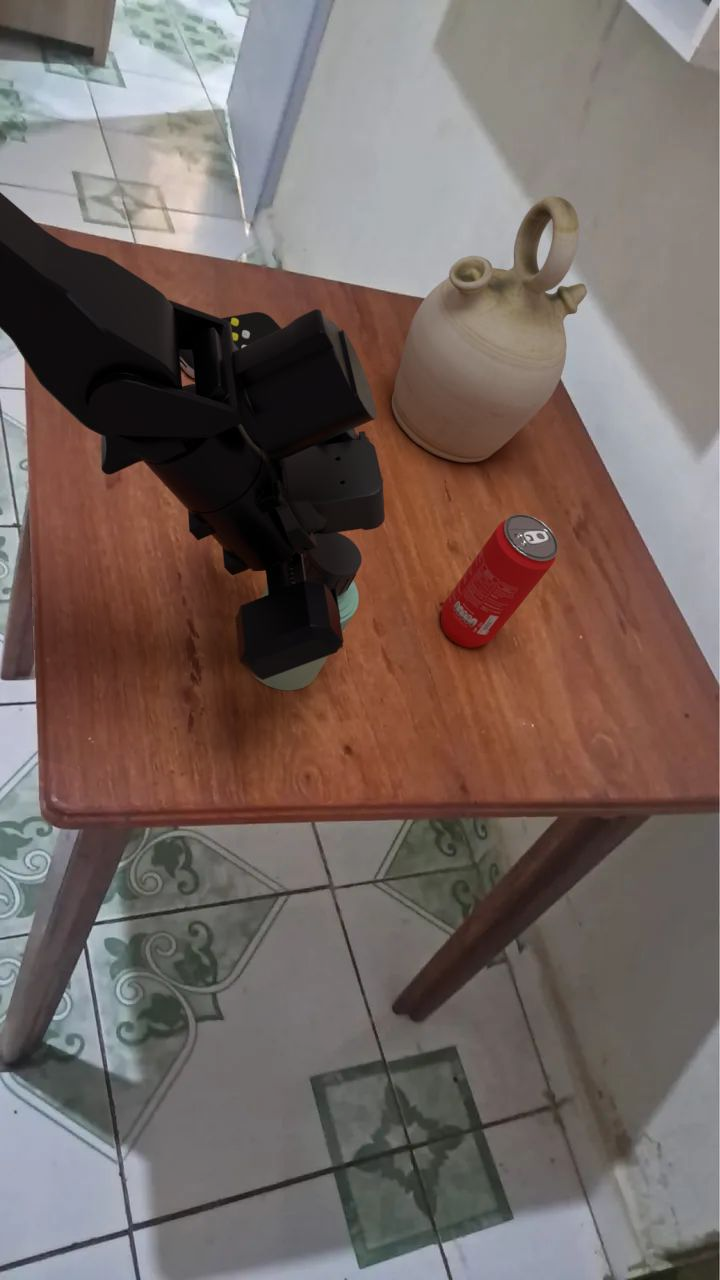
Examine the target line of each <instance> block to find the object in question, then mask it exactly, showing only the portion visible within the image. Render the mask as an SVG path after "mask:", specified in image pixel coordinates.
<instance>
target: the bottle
mask: <svg viewBox="0 0 720 1280" xmlns="http://www.w3.org/2000/svg"><path fill="white" fill-rule="evenodd" d="M291 582H292V581H291ZM266 595H268V587H267V586H266V587H265V589H264V591H263V593H262V595H261V597H264V596H266ZM359 598H360V597H359V590H358V588H357V585H356V582H355V581H354V580H353V581H352V583H351V585H350V587H349V588H348V590H347V591H345V592H344V593H343V594H342V595H340V596H337V600H338V606H339V612H340V624H341V630H342V634H343V633H344V631H345V630H346V628H347V626H348V625H349V623H350V622H351V619H353V616H354V615H355V613H356V611H357V609H358V606H359V602H360V599H359ZM328 658H329V656H326V657H323V658H321V659H318V660H315V661H313V662H310V663H307V664H304V665H302V666H299V667H296V668H294V669H291V670H288V671H286V672H283V673H280V674H278V675H275V676H272V677H269V678H267V679H264V680H261V679H259V678H258V677H256V676H254V675H253V674H252V673H250V674H251V676H253V678H255V679H256V680H257V681H259V682H260V683H262V684H263V685H265V686H266V687H267V686H268V687H270V688H272V689H276V690H279V691H297V690H300V689H303V688H305V687H307V686H309V685H310V684H311V683H313V682H314V681H315V679H316V678H317V677H318V675H319V673H320V672H321V669H322V668H323V666H324V665H325V663H326V662H327V660H328Z"/></svg>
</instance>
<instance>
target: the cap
mask: <svg viewBox="0 0 720 1280" xmlns="http://www.w3.org/2000/svg"><path fill="white" fill-rule="evenodd" d="M314 536H315V537H316V543H317V548H315V549H312V550H310V551H307V552H305V553H303V559H304V566H305V573H306V579H307V581H311V582H318V583H324V584H325V585H326V586H327V588H328V589H329V590H331V589H334V588H335V589H336V594H337V596H340V595H342V594H343V593H344V592H345V591H347V590H348V588H349V587H350V585H351V583H352V581H354V579H355V578H356V576H357V573H358V571H359V570H360V567H361V565H362V562H363V561H362V553H361V551H360V549H359V547H358V546H357V545H356V543H355V542H354V541H353V540H351V538H349V537H347V536H346V535H344V534H343V533H341V532H337V533H331V534H317V533H316V534H314Z"/></svg>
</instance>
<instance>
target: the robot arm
mask: <svg viewBox="0 0 720 1280" xmlns="http://www.w3.org/2000/svg"><path fill="white" fill-rule="evenodd" d="M221 318H222V317H217V316H215V315H212V314H211V313H207V312H204V311H201V310H199V309H195V308H192V307H190V306H187V305H185V304H181V303H178V302H176V301H173V300H170V299H168V298H167V297H166V296H165V294H164V293H162V292H161V291H160V290H159V289H157V288H156V287H155V286H153V285H152V284H150V283H148V282H147V281H146V280H144V279H142V278H141V277H139V276H138V275H136V274H135V273H133V272H132V271H130V270H129V269H127V268H125V267H124V266H122V265H121V264H120V263H117V262H116V261H115V260H114V259H112V258H110V257H108V256H106V255H104V254H100V253H96V252H93V251H88V250H86V249H81V248H77V247H73V246H70V245H68V244H67V243H65V242H63V241H62V240H60V239H59V238H57V237H56V236H54V235H52V234H51V233H49V232H47V231H46V230H45V229H44V228H43V227H42V226H41V225H39V224H38V223H37V222H36V221H34V220H33V219H32V218H31V217H30V216H29V215H28V214H26V213H25V212H24V211H23V210H22V209H20V208H19V207H18V206H17V205H16V204H15V203H14V202H13V201H11V200H10V199H9V198H8V197H7V196H6V195H4V194H3V193H2V192H1V191H0V329H1V330H2V332H4V333H5V334H6V335H7V337H9V338H10V340H11V341H12V342H13V344H14V346H15V347H16V349H17V350H18V352H19V353H20V355H21V356H22V358H23V360H24V361H25V363H26V364H27V366H28V367H29V370H30V371H31V372H32V374H33V375H34V377H35V379H36V380H37V381H38V383H39V384H40V385H41V387H43V388H44V389H45V391H47V392H48V393H49V394H50V395H51V396H52V397H53V398H54V399H55V400H56V401H57V402H58V403H59V404H60V406H62V407H63V408H64V409H65V410H66V411H67V412H68V413H69V414H70V415H71V416H72V417H74V418H75V419H76V420H77V421H78V423H80V424H81V425H82V426H84V427H85V428H86V429H88V430H90V431H92V432H94V433H96V434H98V435H100V437H101V439H100V440H101V441H100V442H101V443H100V444H101V445H100V446H101V447H100V449H101V452H100V453H101V455H100V456H101V457H100V458H101V461H100V462H101V463H100V464H101V466H100V467H101V471H102V473H104V474H105V475H114V474H115V473H118V472H120V471H123V470H124V469H127V468H128V467H131V466H133V465H136V464H137V463H140V462H143V463H144V464H145V465H146V466H147V467H148V468H149V470H151V471H152V473H153V474H154V475H155V476H156V477H157V478H158V479H159V480H160V481H161V482H162V483H163V485H164V486H166V488H167V489H168V490H169V491H170V492H171V493H172V494H173V495H174V497H176V499H177V500H178V501H179V502H180V503H181V504H182V505H183V506H184V507H185V508H186V510H187V515H188V532H190V533H191V535H193V537H194V538H195V539H196V540H197V541H200V540H203V539H205V538H208V537H210V536H211V537H212V538H213V539H214V540H215V541H216V542H217V543H218V544H219V546H220V547H221V548H222V558H223V560H222V561H223V568H224V569H225V570H226V572H227V573H229V574H230V576H231V577H233V576H235V575H238V574H240V573H243V572H245V571H249V570H251V571H252V572H265V578H266V587H268V595H266V596H264V597H262V596H261V597H259V598H256V599H254V600H251V601H248V602H246V603H244V604H241V605H240V606H239V609H238V611H237V613H236V615H235V617H234V620H235V631H236V644H237V654H238V663H239V664H240V665H242V666H243V667H244V668H245V669H246V670H247V671H248V672H249V673H250V674H251V673H252V674H253V675H254V676H256V677H258V678H259V679H261V680H264V679H267V678H269V677H272V676H275V675H278V674H280V673H283V672H286V671H288V670H291V669H294V668H296V667H299V666H302V665H304V664H307V663H310V662H313V661H315V660H318V659H321V658H323V657H326V656H328V657H330V656H331V655H334V654H336V653H338V651H339V650H340V649H342V648H343V647H344V636H343V633H342V630H341V624H340V612H339V606H338V600H337V594H336V589H335V588H334V589H331V590H329V589H328V588H327V586H326V585H325V584H324V583H318V582H311V581H307V579H306V573H305V566H304V559H303V553H305V552H307V551H310V550H312V549H315V548H317V543H316V537H315V536H314V534H316V533H317V534H331V533H343V532H350V531H355V530H356V531H357V530H364V531H369V530H375V529H377V528H379V527H380V526H382V525H383V524H384V522H385V518H386V513H385V497H384V496H385V495H384V483H383V482H384V481H383V475H382V473H381V469H380V464H379V459H378V454H377V450H376V447H375V445H374V444H373V443H372V442H371V441H370V438H369V437H368V436H367V434H366V431H365V430H362V431H361V430H360V431H359V432H358V433H357V432H356V428H359V427H360V426H362V425H364V424H368V423H370V422H371V421H374V420H376V419H377V415H378V413H377V407H376V406H377V405H376V402H375V399H374V396H373V392H372V389H371V386H370V383H369V381H368V378H367V375H366V373H365V370H364V368H363V365H362V363H361V361H360V358H359V357H358V354H357V351H356V350H355V347H354V346H353V343H352V342H351V340H350V338H349V336H348V335H347V333H346V331H345V330H344V329H341V330H340V329H339V327H338V325H337V324H336V323H335V322H334V321H333V320H327V318H326V317H325V315H324V313H323V312H322V310H320V309H318V308H315V309H313V310H310V311H309V312H307V313H304V314H302V315H301V316H299V317H297V318H295V319H294V320H292V321H291V322H290V323H289V324H287V325H286V326H284V327H281V330H278V331H276V332H274V333H272V334H270V335H268V336H266V337H264V338H262V339H260V340H257V341H255V342H253V343H251V344H249V345H247V346H245V347H243V348H241V349H238V348H237V347H236V345H235V344H234V342H233V336H232V328H231V324H230V322H229V321H226V320H224V319H221ZM179 349H185V350H192V355H193V367H194V378H193V380H194V383H190V384H186V385H183V377H182V367H181V364H180V350H179ZM291 581H292V582H291ZM252 674H251V675H252ZM253 675H252V676H253ZM254 676H253V677H254Z"/></svg>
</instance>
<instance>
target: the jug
mask: <svg viewBox="0 0 720 1280" xmlns="http://www.w3.org/2000/svg"><path fill="white" fill-rule="evenodd" d="M550 221H551V222H552V236H551V243H550V247H549V250H548V254H547V257H546V258H545V261H544V264H543V265H542V266H541V268H540V269H539V264H538V249H539V246H540V242H541V238H542V236H543V233H544V231H545V230H546V227H547V226H548V224H549V223H550ZM579 234H580V224H579V218H578V214H577V211H576V208H575V207H574V206H573V204H571V202H569V201H568V200H567V199H566V198H563V197H560V196H555V195H553V196H552V195H551V196H546V197H544V198H542V199H540V200H538V201H537V202H536V203H534V204H533V205H532V206H531V207H530V208H529V210H528V211H527V213H526V214H525V215H524V217H523V219H522V221H521V223H520V225H519V228H518V229H517V233H516V235H515V240H514V246H513V266H512V267H511V268H509V269H503V268H496V267H493V265H492V263H491V262H490V261H489V260H488V259H487V258H485V257H483V256H480V255H468V256H465V257H461V258H459V259H458V260H457V261H456V262H455V263H454V264H452V266H451V267H450V269H449V273H448V277H447V278H446V279H444V280H443V281H441V282H440V283H439V284H438V285H436V286H435V287H434V288H433V289H432V290H431V291H430V292H429V293H428V294H427V296H426V297H425V298H424V299H423V300H422V302H421V303H420V305H419V307H418V308H417V310H416V312H415V314H414V316H413V318H412V321H411V323H410V326H409V329H408V331H407V335H406V340H405V343H404V347H403V351H402V355H401V359H400V364H399V367H398V371H397V374H396V377H395V381H394V385H393V392H392V396H391V409H392V413H393V415H394V418H395V420H396V422H397V424H398V426H399V427H400V428H401V429H402V431H403V432H404V433H406V435H407V436H408V438H410V440H412V441H413V442H414V443H415V444H417V445H418V446H420V447H421V448H422V449H424V450H425V451H426V452H429V453H430V454H432V455H434V456H437V457H439V458H442V459H444V460H448V461H451V462H456V463H462V464H463V463H464V464H465V463H467V464H468V463H469V464H470V463H477V462H481V461H484V460H486V459H488V458H489V457H491V456H492V455H493V454H495V453H496V452H497V451H499V450H500V449H501V448H502V447H503V446H504V445H505V444H507V443H508V442H509V441H510V440H511V439H512V438H513V437H514V436H516V434H517V433H518V432H519V431H520V430H521V429H523V428H524V427H525V426H526V425H527V424H528V423H529V422H530V421H531V420H532V418H534V417H535V416H536V415H537V414H538V413H539V412H540V410H541V409H542V408H543V407H544V406H545V405H546V404H547V402H548V401H549V400H550V399H551V397H552V396H553V395H554V392H555V391H556V388H557V386H558V385H559V383H560V380H561V378H562V375H563V372H564V368H565V365H566V359H567V347H568V346H567V335H566V330H565V325H564V324H565V323H564V322H565V321H564V320H565V318H566V317H567V316H569V315H574V314H576V313H577V312H578V306H579V305H580V304H581V303H582V301H584V299H585V298H586V296H587V294H588V290H587V286H586V284H584V283H576V284H572V285H569V286H564V285H559V284H561V282H562V281H563V280H564V279H565V277H566V276H567V274H568V272H569V271H570V269H571V266H572V264H573V262H574V261H575V260H574V259H575V256H576V254H577V250H578V244H579ZM557 286H558V287H557ZM556 287H557V289H556V291H555V292H554V293H548V292H549V291H551V290H553V289H554V288H556Z"/></svg>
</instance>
